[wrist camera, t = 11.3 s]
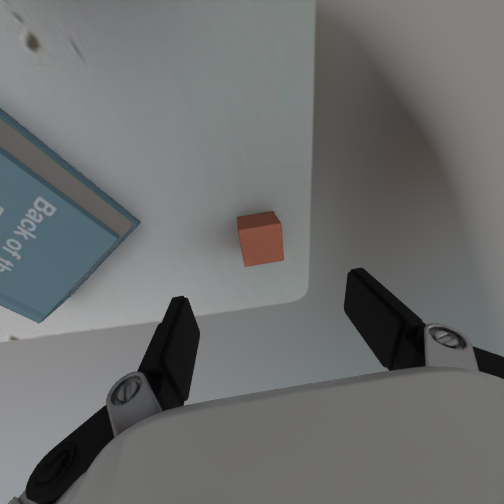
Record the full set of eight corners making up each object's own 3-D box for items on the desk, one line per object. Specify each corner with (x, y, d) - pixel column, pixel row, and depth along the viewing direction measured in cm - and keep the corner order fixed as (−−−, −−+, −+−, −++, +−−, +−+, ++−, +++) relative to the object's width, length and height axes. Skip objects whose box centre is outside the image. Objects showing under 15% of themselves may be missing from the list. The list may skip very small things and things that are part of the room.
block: (237, 217, 23) (237, 230, 19) (273, 211, 23) (281, 222, 19) (243, 249, 25) (244, 267, 21) (276, 243, 25) (284, 260, 21)
